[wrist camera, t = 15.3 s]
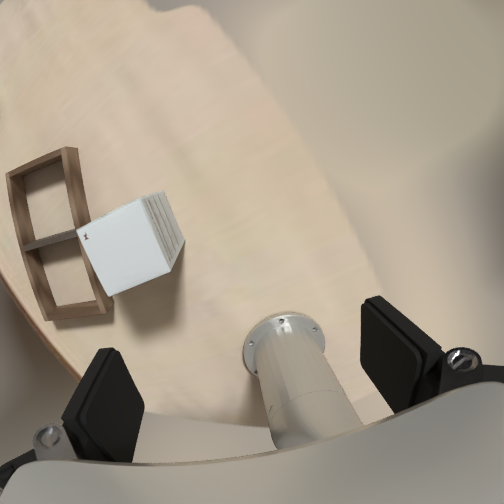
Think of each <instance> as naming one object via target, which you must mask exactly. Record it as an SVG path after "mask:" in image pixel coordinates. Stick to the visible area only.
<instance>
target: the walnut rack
mask: <svg viewBox="0 0 504 504" xmlns="http://www.w3.org/2000/svg"><path fill="white" fill-rule="evenodd" d="M60 160H62V162H63V169H64V175H65V181H66V187H67V193H68V198H69V203H70V208H71V212H72V217H73V221H74V226H75V229H73V230H69V231H66V232H62V233H59V234H55V235H52V236H49V237H45V238H42V239H39V240H35V236H34V232H33V228H32V223H31V219H30V214H29V209H28V204H27V199H26V193H25V187H24V181H23V176H25V175H27V174H29V173H31V172H33V171H36V170H38V169H40V168H43V167H45V166H48V165H50V164H52V163H55V162H57V161H60ZM5 175H6V183H7V189H8V196H9V201H10V207H11V212H12V217H13V222H14V226H15V231H16V235H17V239H18V243H19V247H20V250H21V254H22V257H23V261H24V264H25V268H26V271H27V274H28V277H29V280H30V283H31V286H32V289H33V292H34V294H35V297H36V300H37V303H38V305H39V308H40V310H41V313H42V315H43V318H44V320H45V321H52V320H60V319H68V318H76V317H83V316H90V315H98V314H105V313H107V312H108V310H109V309H110V307H111V306H112V305H113V303H114V301H113V298H112V296H110V297H108V295H107V294H106V292H105V290H104V288H103V286H102V284H101V282H100V280H99V278H98V276H97V275H96V273H95V271H94V268H93V266H92V264H91V262H90V260H89V258H88V256H87V254H86V252H85V249H84V247H83V245H82V243H81V241H80V238H79V236H78V234H77V232H76V230H77V229H79V228H81V227H83V226H85V225H86V224H88V223H90V222H91V220H90V216H89V211H88V206H87V202H86V197H85V191H84V186H83V180H82V175H81V168H80V162H79V155H78V148H73V147H63V148H61V149H58V150H56V151H53V152H51V153H49V154H46V155H44V156H42V157H39V158H37V159H35V160H33V161H31V162H28V163H26V164H24V165H22V166H20V167H18V168H16V169H14V170H12V171H10V172H8V173H6V174H5ZM75 237H77V238H78V242H79V245H80V249H81V253H82V256H83V260H84V263H85V267H86V270H87V273H88V276H89V280H90V283H91V286H92V289H93V292H94V295H95V298H96V300H94V301H88V302H82V303H75V304H69V305H63V306H56V303H55V301H54V298H53V295H52V292H51V289H50V287H49V284H48V281H47V278H46V275H45V271H44V268H43V265H42V262H41V258H40V255H39V251H38V247H42V246H45V245H49V244H52V243H56V242H60V241H63V240H67V239H71V238H75Z"/></svg>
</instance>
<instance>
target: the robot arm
mask: <svg viewBox="0 0 504 504" xmlns="http://www.w3.org/2000/svg"><path fill="white" fill-rule="evenodd" d="M281 318H282V319H281ZM279 319H281V320H279ZM250 341H251V342H250ZM324 349H325V337H324V334H323V332H322V330H321V328H320V327H319V325H318V324H317V323H316V322H315V321H314V320H313V319H311V318H310V317H308V316H306V315H303V314H299V313H280V314H276V315H273V316H270V317H268V318H266V319H264V320H262V321H261V322H260V323H258V324H257V325H256V326H255V327H254V328H253V329H252V330H251V331H250V333H249V334H248V336H247V338H246V340H245V343H244V348H243V354H244V360H245V364H246V365H247V367H248V369H249V370H250V371H251V373H252V374H254V375H255V376H256V377H258V378H259V382H260V387H261V391H262V396H263V401H264V405H265V410H266V415H267V419H268V424H269V428H270V432H271V437H272V440H273V442H274V445H275V446H276V448H277V449H278V450H275V451H270V452H265V453H259V454H253V455H247V456H241V457H234V458H226V459H217V460H207V461H195V462H177V463H132V460H133V456H134V451H135V447H136V442H137V438H138V433H139V429H140V425H141V421H142V416H143V413H144V408H145V406H144V401H143V399H142V397H141V395H140V393H139V391H138V390H137V388H136V386H135V384H134V382H133V379H132V377H131V375H130V373H129V371H128V369H127V367H126V365H125V363H124V360H123V358H122V356H121V354H120V352H119V351H116V350H115V349H114V348H113V347H112V348H101V349H99V350H98V352H97V353H96V355H95V357H94V358H93V360H92V362H91V364H90V365H89V367H88V369H87V371H86V372H85V374H84V376H83V378H82V379H81V381H80V383H79V385H78V387H77V388H76V390H75V392H74V394H73V396H72V398H71V399H70V401H69V403H68V405H67V407H66V409H65V411H64V413H63V415H62V417H61V419H62V420H63V421H64V423H63V425H62V426H61V425H60V424H57V423H49V424H46V425H44V426H42V427H41V428H40V429H38V430H37V431H36V433H35V435H34V437H33V447H34V449H32V450H30V451H29V452H27V453H25V454H23V455H21V456H19V457H17V458H15V459H13V460H11V461H9V462H7V463H5V464H4V465H2V466H1V467H0V504H504V366H495V365H483V364H482V360H481V357H480V355H479V354H478V353H477V352H476V351H474V350H472V349H470V348H465V347H458V348H453V349H451V350H449V351H447V352H446V353H445V352H443V351H442V350H441V346H440V345H438V344H437V343H436V342H435V341H434V340H433V339H432V338H430V337H429V336H428V335H427V334H426V333H425V332H423V331H422V330H421V329H420V328H419V327H417V326H416V325H415V324H414V323H413V322H412V321H410V320H409V319H408V318H407V317H406V316H404V315H403V314H402V313H401V312H400V311H398V310H397V309H396V308H395V307H393V306H392V305H391V304H390V303H389V302H387V301H386V300H385V299H384V298H383V297H381V296H375V297H372V298H368V299H366V300H365V302H364V304H362V305H361V348H360V362H361V366H362V368H363V369H364V371H365V372H366V374H367V375H368V376H369V378H370V379H371V381H372V382H373V383H374V385H375V386H376V388H377V389H378V391H379V392H380V394H381V395H382V396H383V398H384V399H385V401H386V402H387V404H388V405H389V406H390V408H391V409H392V411H393V412H394V415H391V416H389V417H386V418H384V419H381V420H379V421H376V422H373V423H370V424H368V425H365V426H364V425H363V423H362V421H361V420H360V418H359V416H358V415H357V413H356V411H355V409H354V408H353V406H352V404H351V402H350V400H349V399H348V397H347V395H346V393H345V391H344V390H343V388H342V386H341V384H340V383H339V381H338V379H337V377H336V376H335V374H334V372H333V370H332V369H331V367H330V365H329V363H328V362H327V360H326V358H325V356H324V354H323V353H324Z"/></svg>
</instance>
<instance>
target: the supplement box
mask: <svg viewBox="0 0 504 504" xmlns="http://www.w3.org/2000/svg"><path fill="white" fill-rule="evenodd" d="M76 232H77V234H78V236H79V238H80V241H81V243H82V245H83V247H84V249H85V252H86V254H87V256H88V258H89V260H90V262H91V264H92V266H93V268H94V271H95V273H96V275H97V276H98V278H99V280H100V282H101V284H102V286H103V288H104V290H105V292H106V294H107V295H108V297H110V296H113V295H116V294H118V293H121V292H123V291H126V290H128V289H131V288H133V287H135V286H138V285H140V284H143V283H145V282H148V281H150V280H152V279H155V278H157V277H160V276H162V275H164V274H167V273H169V272H171V270H172V268H173V266H174V263H175V261H176V259H177V257H178V255H179V253H180V250H181V248H182V246H183V244H184V242H185V239H184V237H183V235H182V232H181V230H180V228H179V226H178V223H177V221H176V219H175V216H174V214H173V211H172V209H171V207H170V204H169V202H168V199H167V197H166V195H165V192H164V190H162V191H159V192H156V193H152V194H149V195H145V196H142V197H140V198H137V199H135V200H133V201H131V202H129V203H127V204H125V205H123V206H121V207H119V208H117V209H115V210H113V211H111V212H109V213H107V214H105V215H103V216H101V217H99V218H97V219H96V220H94V221H92V222H90V223H88V224H86V225H85V226H83V227H81V228H79V229H77V230H76Z"/></svg>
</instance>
